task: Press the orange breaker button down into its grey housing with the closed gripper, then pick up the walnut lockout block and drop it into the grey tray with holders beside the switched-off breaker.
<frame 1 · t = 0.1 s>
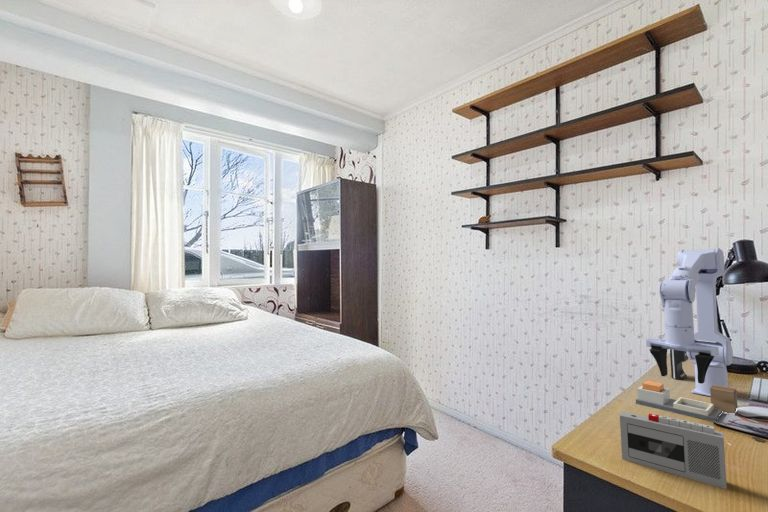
hand: (682, 378, 92), 10 cm above the table, tool pointing down, fingers open, 7 cm apart
grey tray with holders: (677, 408, 98), on the table
cassette player: (671, 471, 70), on the table
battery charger: (680, 378, 124), on the table
breaker button: (653, 388, 103), point 4 cm above the table, slide at 0.0 cm
lockout block: (724, 410, 96), on the table
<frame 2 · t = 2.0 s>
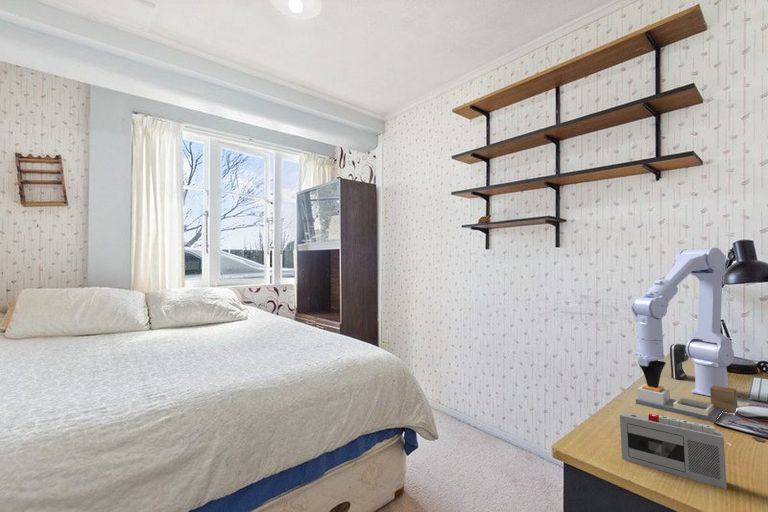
hand: (652, 386, 103), 5 cm above the table, tool pointing down, fingers closed, pressing on breaker button
breaker button: (653, 391, 103), point 3 cm above the table, slide at 0.9 cm, touching gripper
everything else where it was.
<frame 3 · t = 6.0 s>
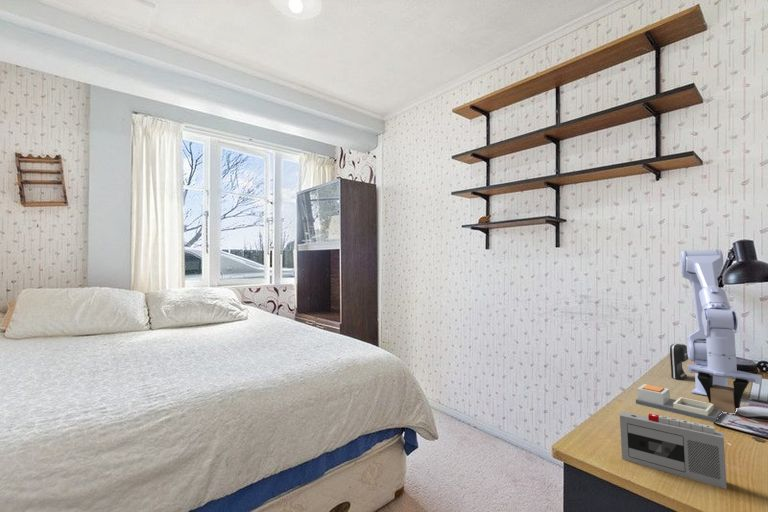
hand: (724, 404, 96), 2 cm above the table, tool pointing down, fingers closed on lockout block, 4 cm apart
breaker button: (653, 393, 103), point 3 cm above the table, slide at 1.2 cm
lockout block: (724, 410, 96), on the table, touching gripper
everything else where it was.
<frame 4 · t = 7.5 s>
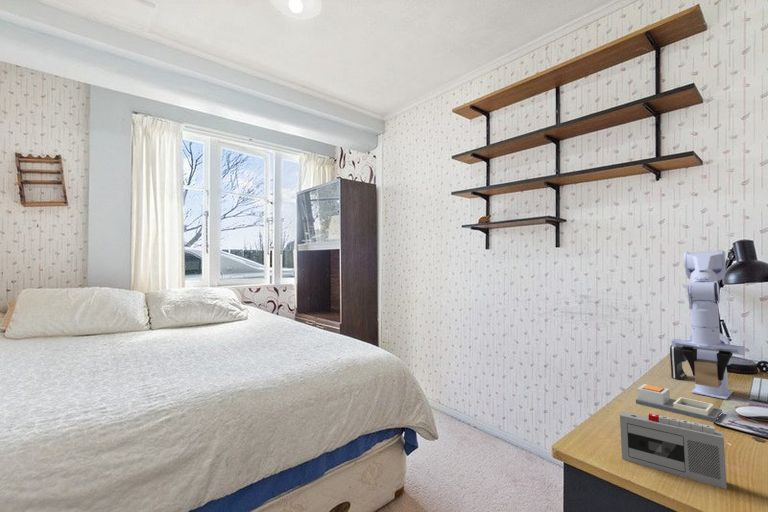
hand: (708, 377, 96), 9 cm above the table, tool pointing down, fingers closed on lockout block, 4 cm apart
lockout block: (708, 384, 96), point 7 cm above the table, touching gripper
everything else where it was.
when the fingers open (4 cm above the table, at t = 9.2 s): lockout block drops 1 cm, resting on grey tray with holders.
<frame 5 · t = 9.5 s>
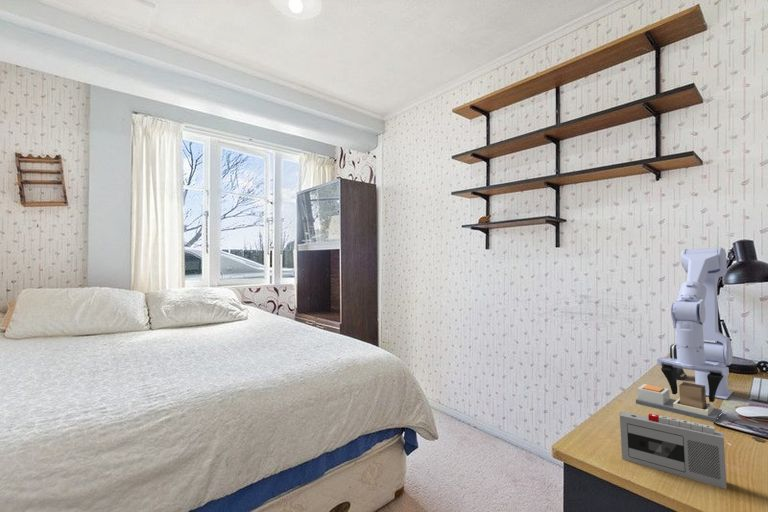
hand: (692, 397, 96), 4 cm above the table, tool pointing down, fingers open, 7 cm apart
lockout block: (693, 408, 96), point 1 cm above the table, touching grey tray with holders
everything else where it was.
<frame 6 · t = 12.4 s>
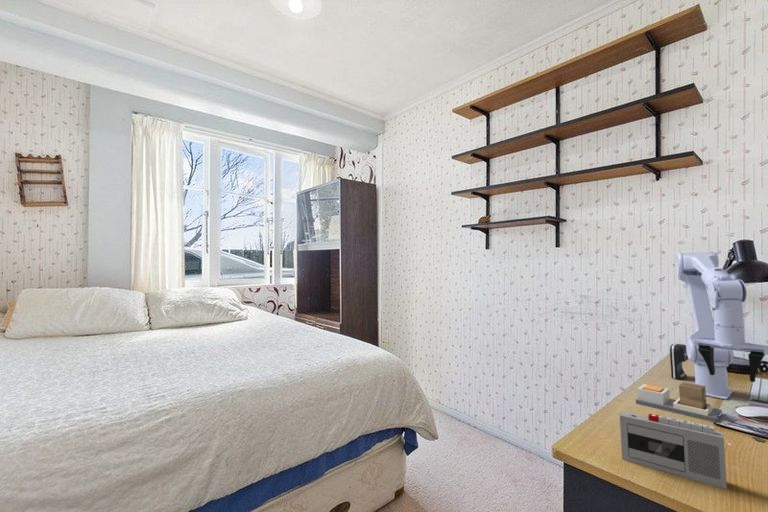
hand: (731, 377, 94), 9 cm above the table, tool pointing down, fingers open, 7 cm apart
nothing on the table moved.
at the end: breaker button slide at 1.2 cm; lockout block 0.1 cm from the target spot on the grey tray with holders, point 1.0 cm above the grey tray with holders's base; lockout block tilted 0° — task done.
